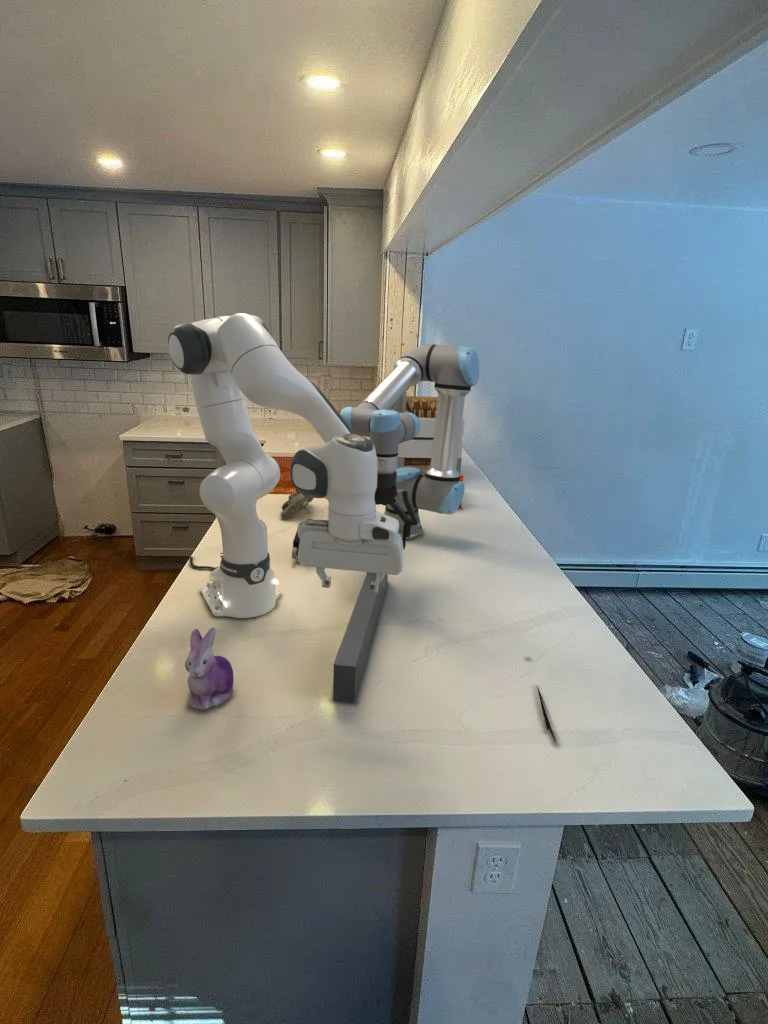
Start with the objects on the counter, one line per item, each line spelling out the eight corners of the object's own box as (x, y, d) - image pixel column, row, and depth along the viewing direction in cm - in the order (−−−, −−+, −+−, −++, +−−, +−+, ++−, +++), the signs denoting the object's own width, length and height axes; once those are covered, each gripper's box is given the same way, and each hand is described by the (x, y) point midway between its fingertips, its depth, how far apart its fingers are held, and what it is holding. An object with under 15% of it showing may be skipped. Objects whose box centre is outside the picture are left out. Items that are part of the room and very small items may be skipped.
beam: (372, 581, 164) (373, 554, 162) (387, 582, 164) (388, 555, 161) (332, 700, 114) (333, 664, 111) (354, 703, 114) (355, 666, 111)
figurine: (192, 718, 107) (185, 650, 102) (183, 687, 116) (177, 623, 111) (241, 704, 111) (238, 639, 106) (229, 675, 120) (225, 613, 115)
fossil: (285, 490, 226) (313, 470, 221) (301, 508, 229) (329, 489, 224) (270, 515, 206) (301, 493, 201) (287, 534, 209) (318, 513, 204)
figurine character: (313, 570, 172) (317, 545, 186) (312, 548, 169) (317, 525, 182) (290, 569, 172) (297, 545, 186) (290, 548, 169) (296, 524, 182)
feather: (528, 662, 131) (533, 656, 131) (556, 747, 105) (562, 740, 104) (522, 659, 131) (527, 652, 130) (548, 742, 104) (555, 735, 104)
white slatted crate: (382, 463, 289) (386, 382, 275) (445, 464, 293) (451, 384, 279) (390, 482, 257) (394, 392, 243) (460, 483, 261) (468, 394, 247)
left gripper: (292, 523, 104) (293, 591, 108) (403, 533, 102) (399, 601, 106) (301, 512, 110) (302, 576, 114) (407, 521, 107) (403, 586, 112)
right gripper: (333, 470, 146) (331, 546, 153) (429, 477, 143) (423, 554, 150) (338, 463, 153) (337, 536, 160) (431, 470, 151) (425, 544, 158)
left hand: (350, 588), depth 110 cm, fingers open, 8 cm apart
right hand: (379, 545), depth 155 cm, fingers open, 13 cm apart
